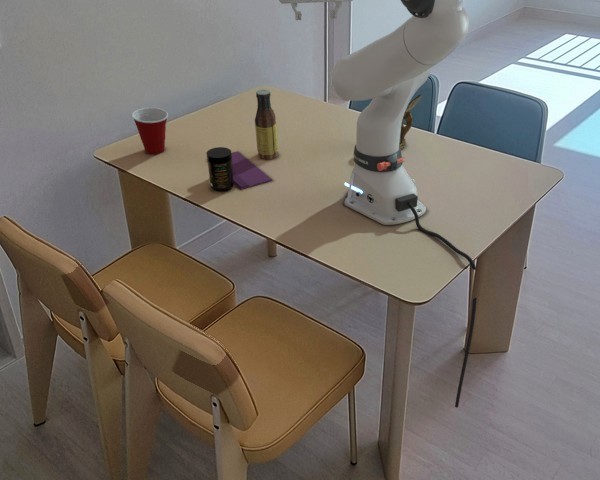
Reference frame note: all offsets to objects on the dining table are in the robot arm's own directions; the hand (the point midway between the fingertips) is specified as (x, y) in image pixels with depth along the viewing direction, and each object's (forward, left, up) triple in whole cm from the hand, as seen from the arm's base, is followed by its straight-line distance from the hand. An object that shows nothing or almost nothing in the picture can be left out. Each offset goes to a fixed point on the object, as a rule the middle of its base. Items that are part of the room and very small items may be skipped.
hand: (315, 18), depth 173 cm
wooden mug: (-8, -24, -40) cm, 47 cm away
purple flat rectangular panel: (+4, +24, -39) cm, 46 cm away
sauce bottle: (+8, +12, -40) cm, 42 cm away
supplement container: (-3, +32, -40) cm, 51 cm away
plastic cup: (+30, +40, -40) cm, 64 cm away
